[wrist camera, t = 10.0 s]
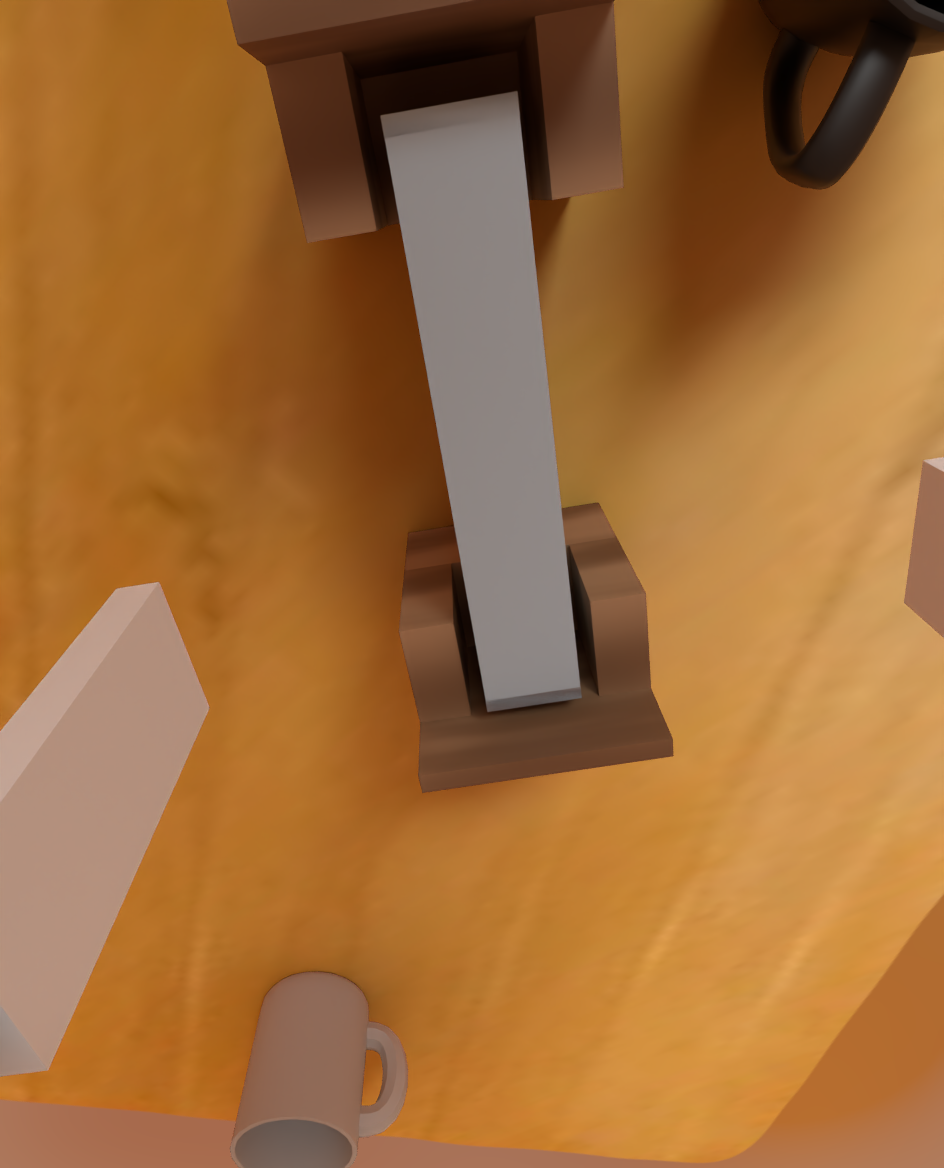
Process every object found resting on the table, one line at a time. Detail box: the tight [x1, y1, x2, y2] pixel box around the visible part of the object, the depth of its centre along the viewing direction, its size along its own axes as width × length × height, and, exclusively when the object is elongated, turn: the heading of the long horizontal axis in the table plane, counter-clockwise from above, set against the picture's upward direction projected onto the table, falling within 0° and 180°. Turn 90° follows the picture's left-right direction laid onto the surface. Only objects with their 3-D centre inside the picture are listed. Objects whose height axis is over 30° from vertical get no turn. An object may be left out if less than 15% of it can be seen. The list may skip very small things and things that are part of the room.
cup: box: [230, 972, 408, 1168], centre depth 47 cm, size 7×10×9 cm
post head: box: [227, 0, 624, 243], centre depth 22 cm, size 5×9×12 cm, turn 99°
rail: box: [380, 91, 582, 712], centre depth 26 cm, size 19×4×6 cm, turn 9°
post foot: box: [399, 503, 673, 793], centre depth 31 cm, size 5×9×12 cm, turn 99°
